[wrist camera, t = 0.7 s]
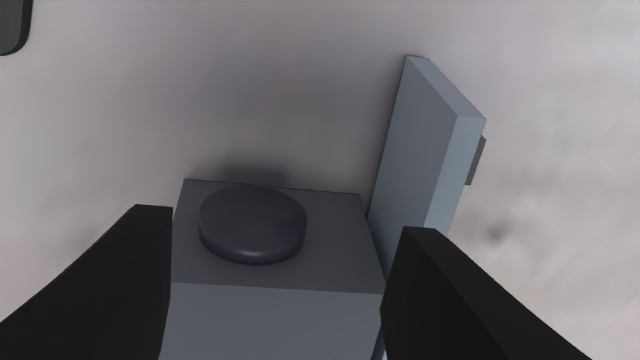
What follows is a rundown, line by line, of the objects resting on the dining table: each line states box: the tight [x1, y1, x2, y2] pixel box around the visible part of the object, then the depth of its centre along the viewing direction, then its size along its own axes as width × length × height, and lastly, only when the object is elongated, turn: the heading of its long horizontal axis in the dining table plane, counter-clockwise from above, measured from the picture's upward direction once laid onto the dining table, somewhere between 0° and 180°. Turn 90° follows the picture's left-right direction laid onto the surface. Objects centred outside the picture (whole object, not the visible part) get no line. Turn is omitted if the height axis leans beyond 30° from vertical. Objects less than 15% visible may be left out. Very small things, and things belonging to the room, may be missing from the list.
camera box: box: [158, 179, 386, 360], centre depth 20 cm, size 10×7×7 cm
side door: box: [367, 56, 486, 360], centre depth 20 cm, size 16×2×6 cm, turn 171°
